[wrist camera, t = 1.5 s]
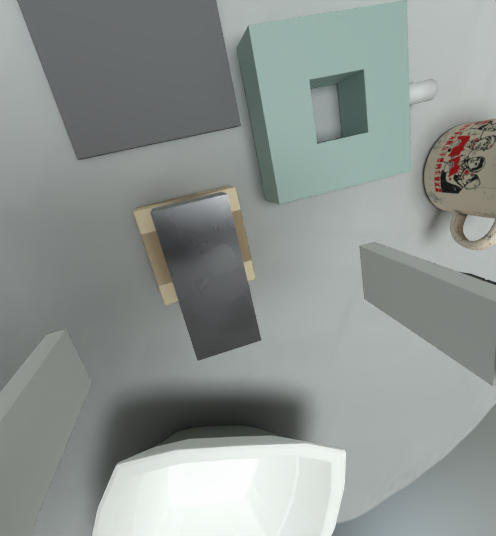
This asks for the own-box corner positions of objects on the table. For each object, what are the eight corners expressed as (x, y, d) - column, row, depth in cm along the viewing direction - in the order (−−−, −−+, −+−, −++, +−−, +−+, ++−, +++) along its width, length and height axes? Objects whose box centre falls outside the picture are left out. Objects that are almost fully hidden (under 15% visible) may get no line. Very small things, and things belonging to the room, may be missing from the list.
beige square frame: (165, 292, 29) (164, 305, 26) (137, 207, 26) (133, 211, 23) (247, 269, 30) (255, 279, 27) (229, 185, 27) (235, 187, 24)
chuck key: (188, 291, 29) (197, 360, 18) (159, 195, 26) (150, 212, 15) (229, 279, 30) (261, 340, 19) (205, 184, 27) (227, 193, 16)
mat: (79, 159, 24) (77, 159, 23) (13, -15, 20) (9, -20, 20) (239, 125, 26) (240, 125, 25) (206, -39, 22) (207, -44, 22)
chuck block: (265, 200, 28) (279, 204, 24) (236, 47, 24) (248, 25, 20) (413, 163, 30) (446, 161, 27) (409, 18, 26) (448, -7, 23)
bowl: (114, 380, 30) (93, 454, 22) (323, 382, 36) (365, 440, 28) (101, 544, 36) (81, 650, 28) (284, 522, 42) (310, 603, 34)
